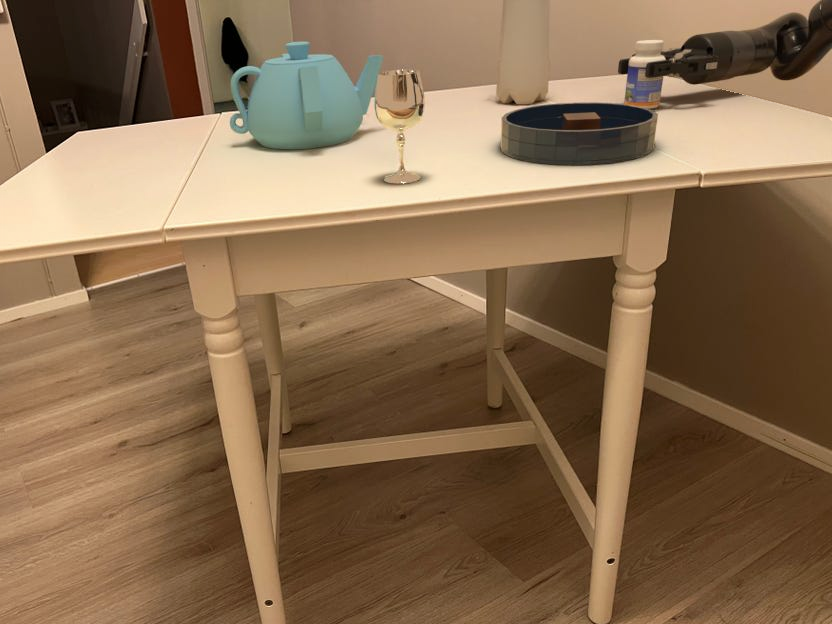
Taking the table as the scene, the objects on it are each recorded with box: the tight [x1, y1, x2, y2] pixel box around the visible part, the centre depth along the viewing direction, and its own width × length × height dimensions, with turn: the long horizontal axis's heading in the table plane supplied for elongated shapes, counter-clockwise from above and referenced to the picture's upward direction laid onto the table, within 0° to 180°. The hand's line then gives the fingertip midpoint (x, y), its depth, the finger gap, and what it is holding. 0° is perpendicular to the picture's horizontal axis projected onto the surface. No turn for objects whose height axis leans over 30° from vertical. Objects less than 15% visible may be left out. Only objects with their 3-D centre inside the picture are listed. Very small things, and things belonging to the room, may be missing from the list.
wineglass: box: [374, 68, 426, 185], centre depth 82 cm, size 6×6×12 cm
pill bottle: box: [623, 39, 666, 110], centre depth 111 cm, size 5×5×10 cm
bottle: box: [495, 0, 551, 105], centre depth 119 cm, size 9×9×30 cm
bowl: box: [500, 101, 659, 166], centre depth 92 cm, size 19×19×4 cm
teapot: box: [229, 41, 384, 150], centre depth 107 cm, size 19×19×14 cm
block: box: [562, 112, 601, 130], centre depth 89 cm, size 4×4×4 cm
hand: (633, 68), depth 110 cm, fingers closed on pill bottle, 5 cm apart
